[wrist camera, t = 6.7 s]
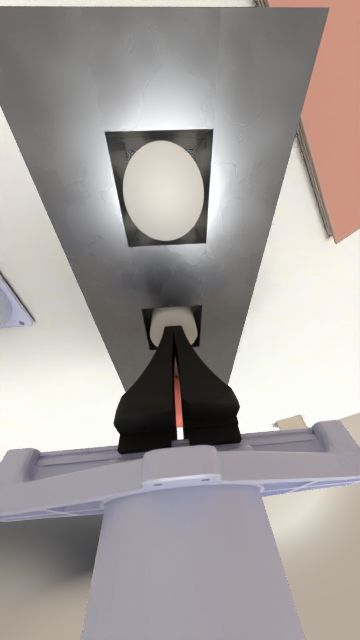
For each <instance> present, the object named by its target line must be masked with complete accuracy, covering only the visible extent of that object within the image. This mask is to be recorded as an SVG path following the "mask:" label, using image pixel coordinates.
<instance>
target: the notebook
mask: <svg viewBox="0 0 360 640" xmlns="http://www.w3.org/2000/svg"><path fill="white" fill-rule="evenodd" d="M256 4H257V7H330V9H329V13H328V16H327V20H326V24H325V27H324V31H323V35H322V38H321V42H320V46H319V50H318V53H317V57H316V61H315V64H314V68H313V72H312V75H311V79H310V83H309V87H308V90H307V94H306V98H305V101H304V105H303V109H302V112H301V116H300V120H299V124H298V127H297V131H296V134H297V137H298V140H299V143H300V147H301V150H302V153H303V156H304V160H305V163H306V166H307V169H308V173H309V176H310V179H311V182H312V186H313V189H314V192H315V195H316V199H317V202H318V205H319V208H320V212H321V215H322V218H323V221H324V225H325V228H326V231H327V234H329V235H331V236H333V238H334V242H335V243H336V244H337V243H339V242H340V241H342V240H343V239H345V238H346V237H348V236H349V235H351V234H352V233H354V232H355V231H357V230H358V229H360V0H256Z"/></svg>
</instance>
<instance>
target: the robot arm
mask: <svg viewBox="0 0 360 640" xmlns="http://www.w3.org/2000/svg"><path fill="white" fill-rule="evenodd" d="M33 323H34V321H33V319H32V318H31V317H30V315H29V314H28V312H27V311H26V310H25V308H24V307H23V305H22V304H21V303H20V301H19V300H18V299H17V297H16V296H15V294H14V293H13V292H12V290H11V289H10V288H9V286H8V285H7V283H6V282H5V281H4V279H3V278H2V276H1V275H0V328H7V327H23V326H31V325H32V324H33ZM175 357H176V363H177V369H178V375H179V382H180V394H181V407H182V421H183V435H184V439H182V440H177V426H176V408H175V390H174V374H175ZM239 408H240V406H239V402H238V400H237V398H236V396H235V394H234V392H233V390H232V389H231V387H229V386H228V385H227V384H226V383H224V382H223V381H222V380H221V379H220V378H219V377H218V376H216V375H215V374H214V373H213V372H212V371H211V370H210V369H209V368H208V367H207V365H206V364H205V363H204V362H203V361H202V360H201V358H200V357H199V356H198V354H197V353H196V352H195V350H194V349H193V347H192V346H191V344H190V342H189V341H188V339H187V337H186V335H185V333H184V330H183V327H182V326H181V325H178V326H165V327H164V331H163V335H162V338H161V340H160V343H159V345H158V348H157V350H156V352H155V354H154V355H153V357H152V359H151V361H150V362H149V364H148V366H147V367H146V368H145V370H144V371H143V373H142V374H141V375H140V377H139V378H138V379H137V380H136V382H135V383H134V384H133V385H132V386H131V387H130V388H129V390H128V391H127V392H126V393H125V394H124V395H123V396H122V397H121V400H120V402H119V404H118V407H117V410H116V414H115V419H114V426H115V428H116V429H117V431H118V432H119V434H120V438H119V444H118V446H107V447H96V448H85V449H74V450H64V451H53V452H42V453H41V452H40V451H39V450H37V449H34V448H24V449H13V450H9V451H7V453H6V455H5V456H4V458H3V460H2V461H1V463H0V521H3V522H8V521H18V520H28V519H40V518H52V517H65V516H79V515H93V514H104V517H103V522H102V527H101V533H100V539H99V544H98V550H97V554H96V560H95V565H94V571H93V576H92V582H91V587H90V592H89V598H88V604H87V608H86V615H85V619H84V625H83V630H82V636H81V640H306V639H305V635H304V632H303V629H302V626H301V623H300V619H299V616H298V613H297V610H296V606H295V603H294V600H293V597H292V594H291V590H290V587H289V584H288V581H287V577H286V574H285V571H284V568H283V565H282V561H281V558H280V555H279V552H278V548H277V545H276V542H275V539H274V536H273V532H272V529H271V526H270V523H269V520H268V516H267V513H266V510H265V507H264V503H263V500H262V497H263V496H270V495H278V494H285V493H292V492H299V491H306V490H313V489H320V488H329V487H337V486H346V485H352V484H355V483H358V482H360V447H359V446H358V444H357V443H356V442H355V440H354V439H353V438H352V436H351V435H350V434H349V432H348V431H347V430H346V428H345V427H344V425H343V424H342V423H341V422H340V421H339V420H331V421H321V422H317V423H315V424H314V425H313V426H312V428H301V429H291V430H280V431H269V432H258V433H247V434H240V431H239V428H238V420H237V417H236V416H237V413H238V411H239Z"/></svg>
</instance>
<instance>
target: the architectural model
mask: <svg viewBox="0 0 360 640" xmlns="http://www.w3.org/2000/svg"><path fill="white" fill-rule="evenodd" d="M276 423H277V425H278V427H279V429H280V430H291V429H301V428H308V427H307V426H306V424H305V422H304V421H303V419H302V417H301V416H300V415H297V416H294V417H290V418H287V419H283V420H280V421H276Z"/></svg>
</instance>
